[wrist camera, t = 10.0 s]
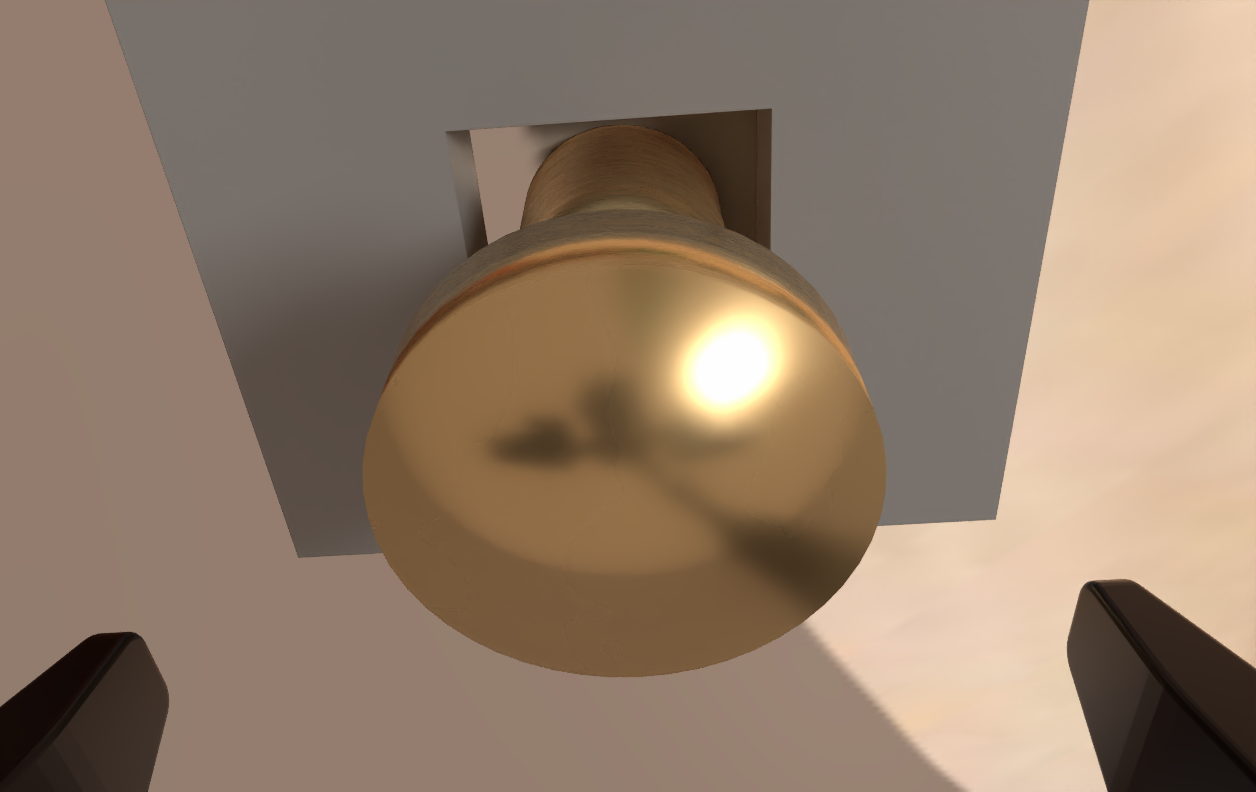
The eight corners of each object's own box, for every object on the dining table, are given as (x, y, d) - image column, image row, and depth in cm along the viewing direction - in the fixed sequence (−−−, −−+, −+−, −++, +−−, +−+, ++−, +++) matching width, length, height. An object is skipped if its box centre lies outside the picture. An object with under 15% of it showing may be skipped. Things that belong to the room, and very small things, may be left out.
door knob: (781, 350, 20) (866, 665, 13) (484, 368, 20) (416, 688, 13) (790, 41, 16) (910, 250, 10) (431, 66, 16) (303, 289, 10)
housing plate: (966, 458, 21) (995, 519, 19) (323, 494, 21) (298, 557, 20) (1064, -192, 14) (1122, -184, 13) (133, -116, 15) (70, -100, 13)
